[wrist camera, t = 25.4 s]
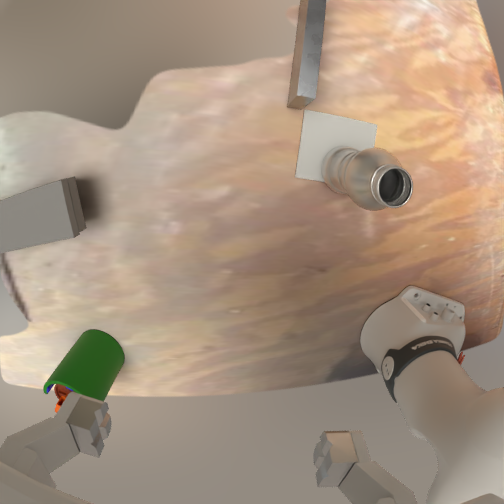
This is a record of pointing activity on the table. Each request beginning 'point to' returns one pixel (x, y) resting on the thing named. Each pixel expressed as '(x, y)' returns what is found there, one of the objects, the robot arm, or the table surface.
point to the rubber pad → (329, 140)
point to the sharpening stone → (41, 216)
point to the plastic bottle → (367, 177)
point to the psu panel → (307, 53)
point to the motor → (87, 367)
